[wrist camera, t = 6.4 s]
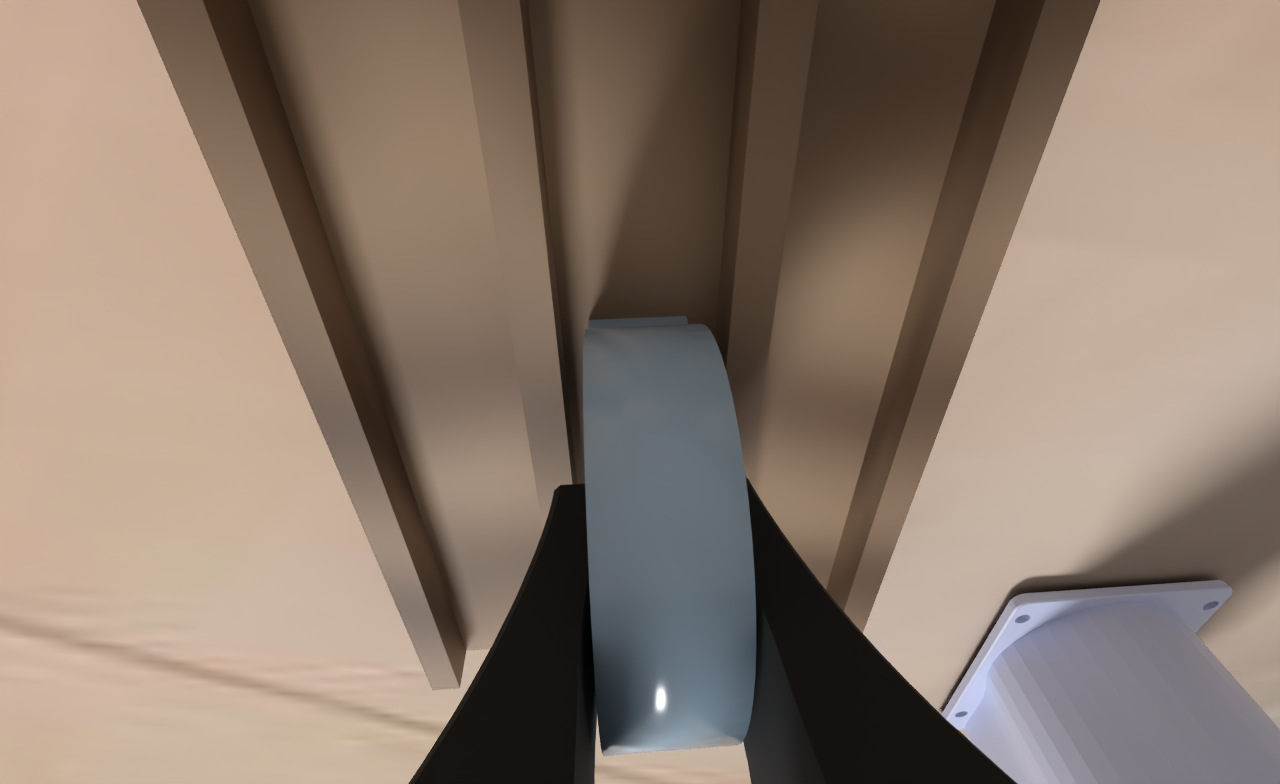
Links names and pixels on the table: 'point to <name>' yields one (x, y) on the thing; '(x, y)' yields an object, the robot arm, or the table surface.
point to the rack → (618, 243)
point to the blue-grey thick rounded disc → (666, 539)
